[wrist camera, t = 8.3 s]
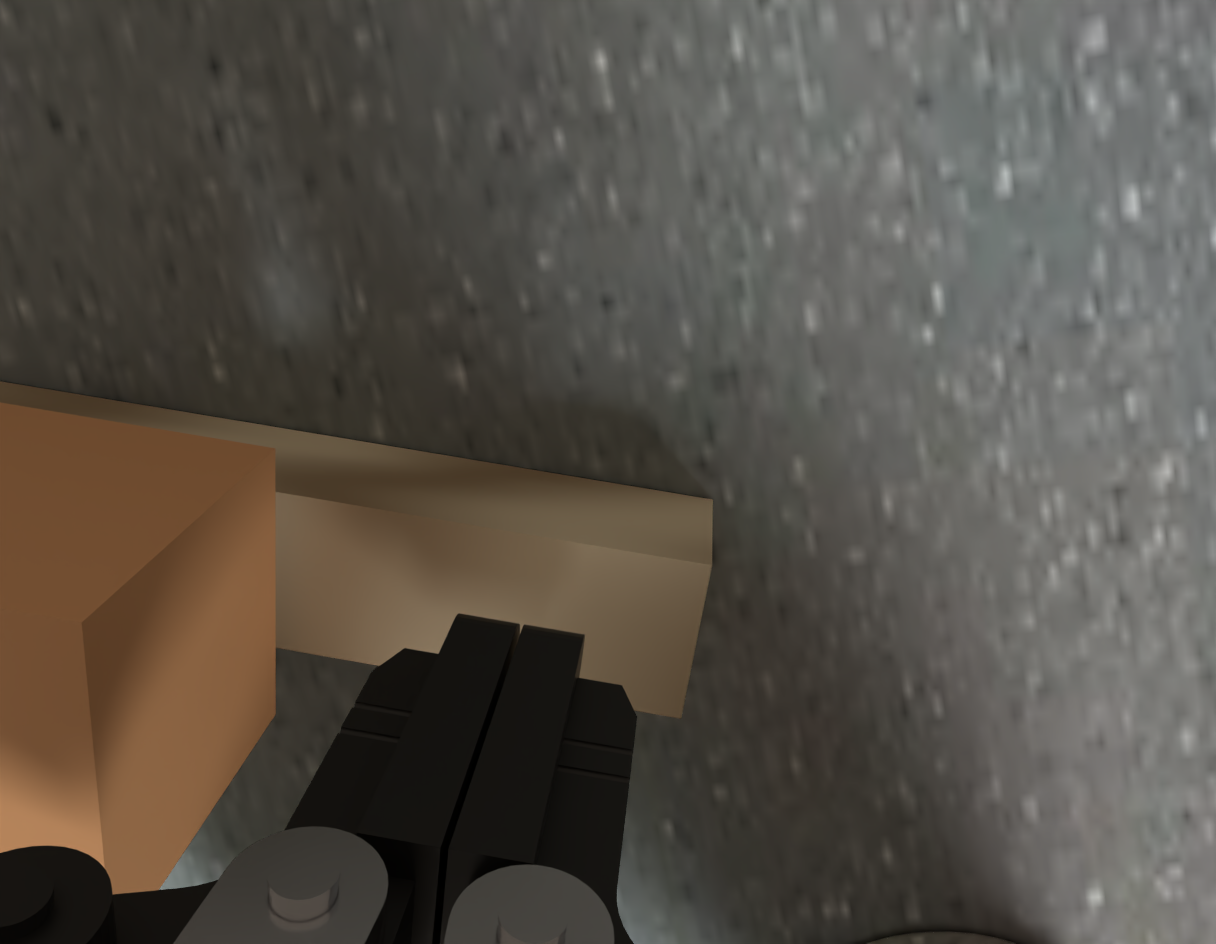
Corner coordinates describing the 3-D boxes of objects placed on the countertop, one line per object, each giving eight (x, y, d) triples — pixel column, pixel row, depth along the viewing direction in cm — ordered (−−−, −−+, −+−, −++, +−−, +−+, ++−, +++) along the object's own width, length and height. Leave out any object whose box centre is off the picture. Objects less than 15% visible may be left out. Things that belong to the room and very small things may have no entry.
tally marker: (274, 448, 12) (81, 622, 8) (275, 714, 14) (112, 958, 10) (-41, 395, 12) (-367, 544, 9) (-4, 665, 14) (-266, 887, 10)
